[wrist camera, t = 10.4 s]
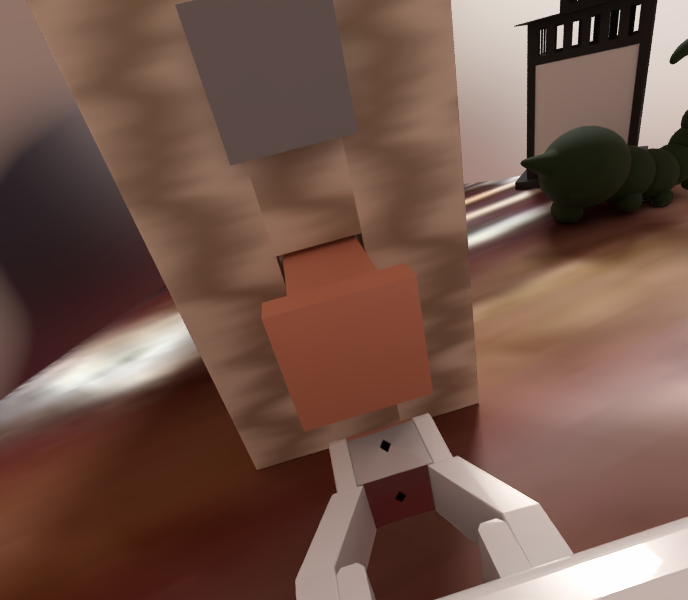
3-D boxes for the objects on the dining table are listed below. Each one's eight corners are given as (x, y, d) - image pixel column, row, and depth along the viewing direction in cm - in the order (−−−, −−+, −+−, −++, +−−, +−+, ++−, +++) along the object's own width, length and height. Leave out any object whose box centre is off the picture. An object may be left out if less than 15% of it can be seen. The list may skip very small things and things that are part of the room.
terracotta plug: (378, 297, 24) (360, 211, 22) (432, 393, 16) (416, 274, 14) (291, 322, 24) (263, 238, 22) (303, 431, 16) (261, 318, 13)
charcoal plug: (328, 123, 25) (305, 18, 22) (357, 132, 17) (327, -31, 14) (242, 145, 25) (209, 41, 22) (230, 165, 16) (175, 4, 14)
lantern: (647, 152, 67) (687, -125, 51) (643, 183, 56) (694, -163, 39) (537, 161, 77) (541, -68, 61) (515, 189, 66) (513, -85, 49)
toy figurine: (667, 192, 55) (497, 220, 54) (709, 32, 46) (507, 61, 45) (735, 208, 47) (536, 242, 46) (802, 17, 38) (556, 52, 37)
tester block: (444, 354, 33) (395, -64, 20) (478, 403, 27) (441, -125, 15) (258, 409, 32) (82, 8, 19) (256, 470, 26) (11, -29, 14)
